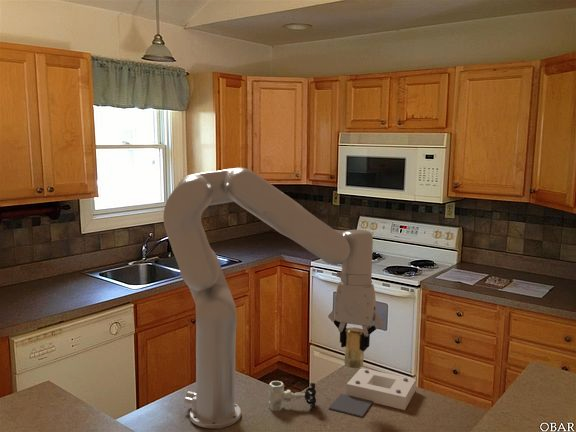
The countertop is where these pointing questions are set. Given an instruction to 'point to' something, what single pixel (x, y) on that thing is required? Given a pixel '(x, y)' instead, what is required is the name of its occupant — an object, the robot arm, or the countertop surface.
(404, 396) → the plate
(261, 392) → the countertop surface
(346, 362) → the brass domed cylinder
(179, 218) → the robot arm
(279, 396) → the valve
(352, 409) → the mat
